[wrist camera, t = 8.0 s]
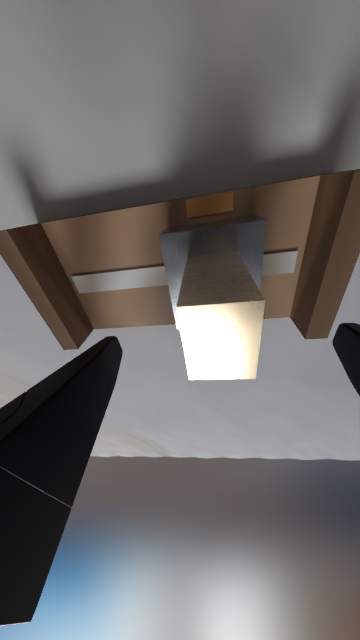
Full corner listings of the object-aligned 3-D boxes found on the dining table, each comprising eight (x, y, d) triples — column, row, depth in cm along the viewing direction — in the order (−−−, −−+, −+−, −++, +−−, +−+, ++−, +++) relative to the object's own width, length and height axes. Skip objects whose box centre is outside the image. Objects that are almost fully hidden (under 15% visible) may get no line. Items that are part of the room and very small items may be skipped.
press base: (334, 172, 12) (393, 164, 8) (300, 307, 17) (327, 338, 14) (37, 223, 16) (-14, 233, 12) (87, 321, 21) (63, 349, 17)
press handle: (256, 214, 12) (329, 247, 5) (249, 308, 16) (285, 398, 9) (165, 228, 13) (123, 270, 6) (179, 313, 17) (164, 398, 10)
